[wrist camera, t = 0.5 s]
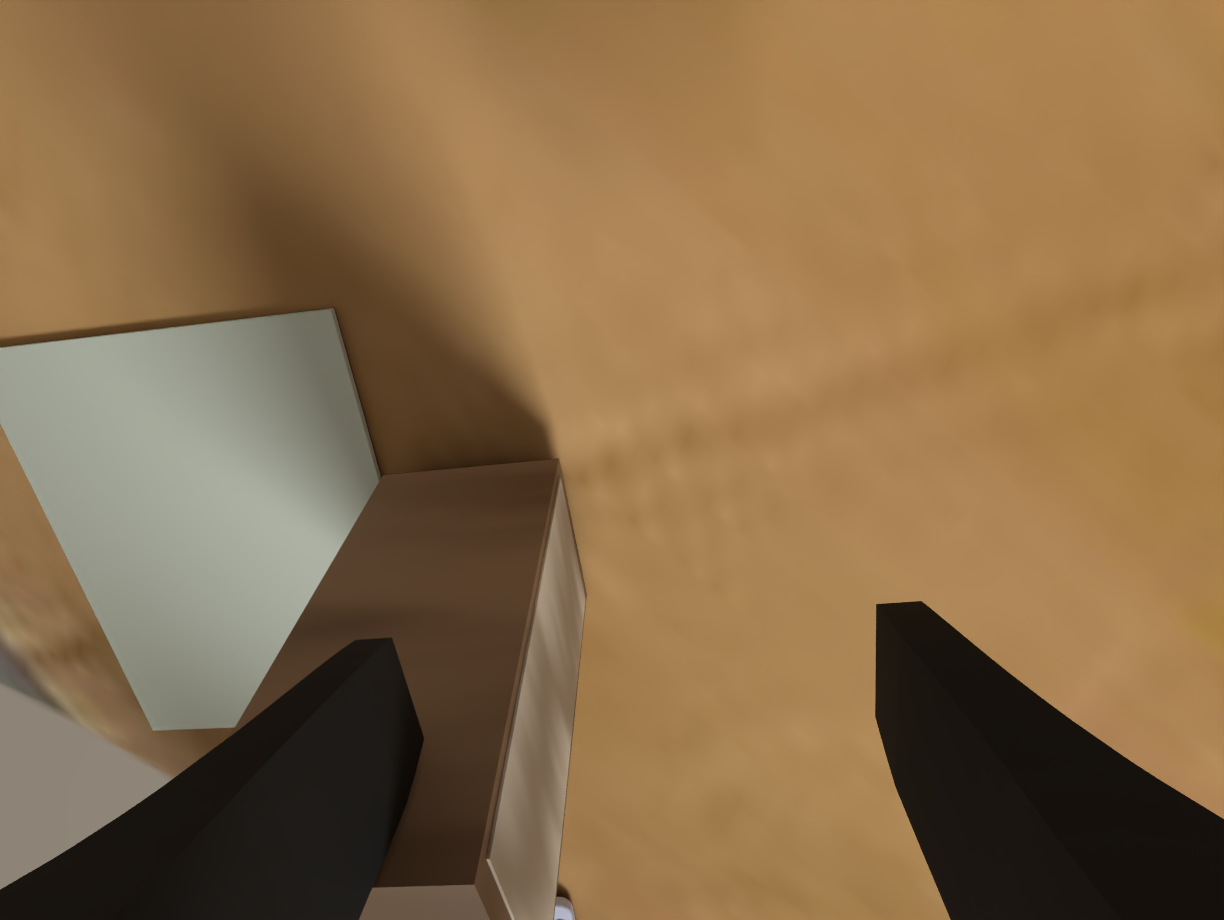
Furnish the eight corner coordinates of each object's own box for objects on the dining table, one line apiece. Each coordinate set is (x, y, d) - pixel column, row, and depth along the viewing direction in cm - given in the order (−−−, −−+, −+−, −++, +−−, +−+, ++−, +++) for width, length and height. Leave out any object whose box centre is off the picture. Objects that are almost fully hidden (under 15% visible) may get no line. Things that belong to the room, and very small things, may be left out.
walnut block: (588, 594, 21) (545, 1034, 12) (431, 606, 22) (272, 1036, 12) (560, 458, 19) (477, 884, 9) (383, 475, 19) (136, 894, 10)
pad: (447, 714, 24) (445, 719, 23) (156, 726, 25) (152, 730, 25) (334, 308, 18) (330, 309, 18) (-29, 350, 20) (-36, 352, 19)
